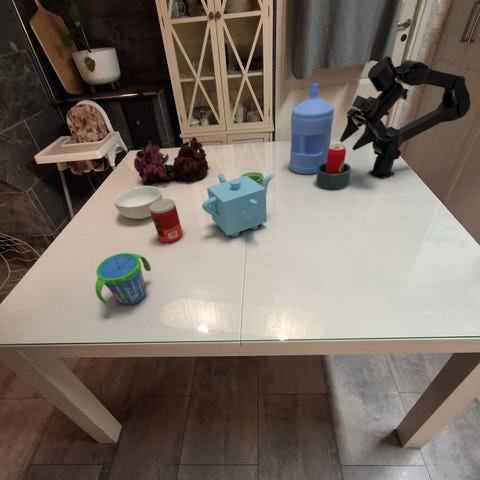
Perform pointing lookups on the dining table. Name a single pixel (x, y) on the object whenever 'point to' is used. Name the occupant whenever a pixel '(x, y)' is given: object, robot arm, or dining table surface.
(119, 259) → the snack cup
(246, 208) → the teakettle
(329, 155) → the beverage can
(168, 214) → the canned food
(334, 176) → the pot
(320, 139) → the water jug
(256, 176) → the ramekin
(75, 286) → the dining table surface
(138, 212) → the cereal bowl
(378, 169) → the robot arm
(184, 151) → the flower arrangement
